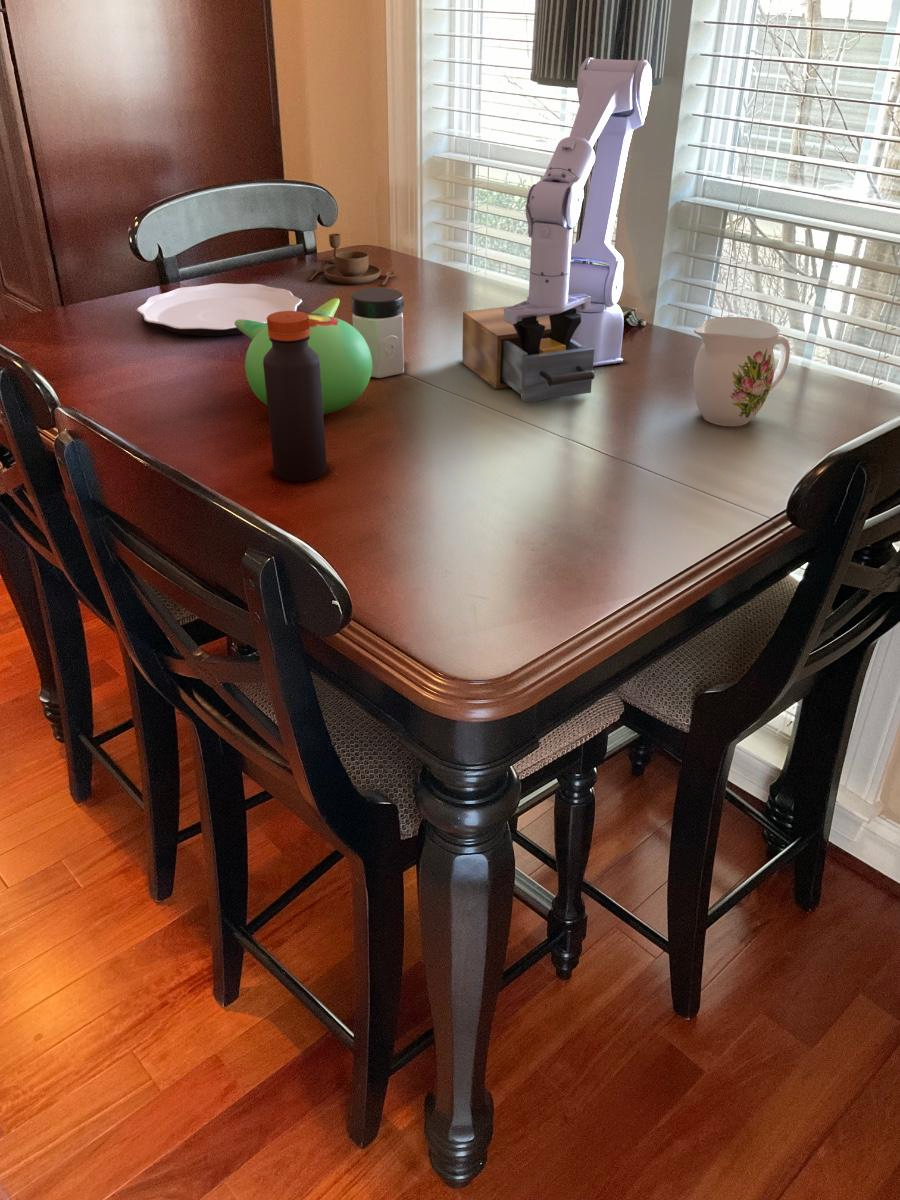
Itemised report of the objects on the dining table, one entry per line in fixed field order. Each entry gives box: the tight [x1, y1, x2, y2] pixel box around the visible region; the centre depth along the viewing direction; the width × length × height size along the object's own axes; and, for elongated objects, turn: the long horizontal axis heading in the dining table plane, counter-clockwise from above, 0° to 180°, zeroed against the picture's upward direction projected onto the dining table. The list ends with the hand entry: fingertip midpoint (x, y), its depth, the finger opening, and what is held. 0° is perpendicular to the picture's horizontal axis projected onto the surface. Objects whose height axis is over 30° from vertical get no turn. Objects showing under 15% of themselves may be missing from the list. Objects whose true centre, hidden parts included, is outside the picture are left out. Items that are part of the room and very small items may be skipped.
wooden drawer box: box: [461, 305, 551, 390], centre depth 156 cm, size 13×12×8 cm
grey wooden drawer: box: [500, 333, 595, 403], centre depth 147 cm, size 16×11×7 cm
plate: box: [136, 282, 303, 337], centre depth 182 cm, size 29×29×2 cm
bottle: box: [263, 310, 328, 483], centre depth 120 cm, size 7×7×20 cm
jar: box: [350, 287, 405, 379], centre depth 155 cm, size 9×8×12 cm
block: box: [539, 338, 566, 354], centre depth 147 cm, size 4×4×4 cm
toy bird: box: [234, 297, 372, 416], centre depth 140 cm, size 18×17×15 cm
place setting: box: [308, 233, 395, 286], centre depth 208 cm, size 18×20×6 cm
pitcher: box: [692, 316, 791, 427], centre depth 139 cm, size 11×18×14 cm, turn 117°
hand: (544, 363), depth 148 cm, fingers closed on block, 4 cm apart
